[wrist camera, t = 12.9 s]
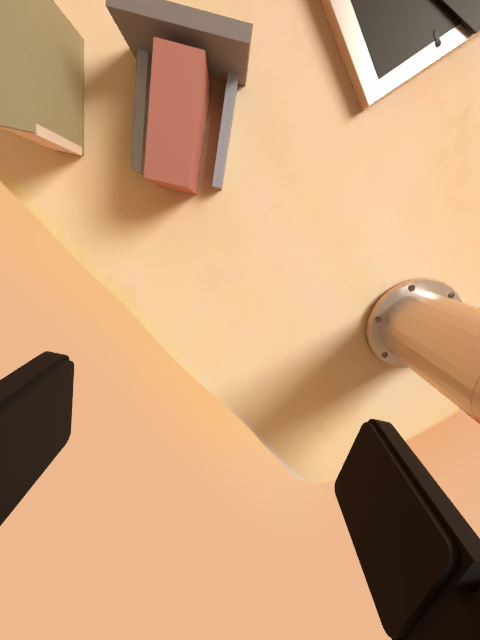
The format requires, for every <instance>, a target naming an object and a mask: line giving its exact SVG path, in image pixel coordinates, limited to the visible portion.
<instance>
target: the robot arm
mask: <svg viewBox="0 0 480 640" xmlns="http://www.w3.org/2000/svg"><path fill="white" fill-rule="evenodd" d="M367 339H368V343H369V345H370V347H371V349H372V351H373V352H374V353H375V354H376V355H377V356H378V357H379V358H380V359H381V360H382V361H384V362H386V363H387V364H390V365H392V366H395V367H402V368H411V369H412V370H413V371H414V372H416V373H417V374H418V375H419V376H421V377H422V378H423V379H424V380H426V381H427V382H428V383H429V384H430V385H432V386H433V387H434V388H435V389H437V390H438V391H439V392H440V393H442V394H443V395H444V396H445V397H447V398H448V399H449V400H450V401H452V402H453V403H454V404H455V405H457V406H458V407H459V408H460V409H462V410H463V411H464V412H466V413H467V414H468V415H469V416H471V417H472V418H473V419H474V420H475V421H477V422H478V423H479V424H480V308H477V307H474V306H471V305H468V304H465V303H462V301H461V299H460V297H459V295H458V294H457V292H456V291H455V290H454V289H453V288H452V287H451V286H449V285H447V284H445V283H443V282H440V281H437V280H433V279H428V278H417V279H412V280H408V281H405V282H403V283H400V284H398V285H397V286H395V287H393V288H391V289H390V290H389V291H388V292H386V293H385V294H384V295H383V296H382V297H381V298H380V299H379V300H378V302H377V303H376V304H375V306H374V308H373V309H372V311H371V314H370V316H369V318H368V323H367ZM73 378H74V363H73V362H72V361H70V360H69V357H68V356H67V355H63V354H58V353H53V352H47V351H46V352H44V353H42V354H40V355H39V356H37V357H36V358H34V359H32V360H31V361H29V362H28V363H26V364H25V365H23V366H21V367H20V368H18V369H17V370H15V371H14V372H12V373H11V374H9V375H8V376H6V377H4V378H3V379H1V380H0V526H1V524H2V523H3V522H4V521H5V519H6V518H7V517H8V516H9V514H10V513H11V512H12V511H13V509H14V508H15V507H16V506H17V504H18V503H19V502H20V501H21V499H22V498H23V497H24V496H25V494H26V493H27V492H28V490H29V489H30V488H31V487H32V486H33V484H34V483H35V482H36V481H37V479H38V478H39V477H40V476H41V474H42V473H43V472H44V471H45V469H46V468H47V467H48V466H49V464H50V463H51V462H52V461H53V459H54V458H55V457H56V456H57V454H58V453H59V452H60V451H61V449H62V448H63V447H64V446H65V444H66V443H67V441H68V439H69V436H70V433H71V418H72V398H73ZM335 494H336V497H337V500H338V502H339V505H340V508H341V511H342V514H343V516H344V519H345V522H346V525H347V528H348V531H349V533H350V536H351V539H352V542H353V544H354V547H355V550H356V553H357V556H358V558H359V561H360V564H361V567H362V570H363V572H364V575H365V578H366V581H367V583H368V587H369V589H370V592H371V595H372V598H373V601H374V603H375V606H376V609H377V611H378V614H379V617H380V620H381V623H382V625H383V628H384V630H385V632H386V633H387V635H388V636H389V637H391V638H392V640H480V539H479V537H478V536H477V535H476V533H475V532H474V531H473V529H472V528H471V527H470V526H469V524H468V523H467V522H466V520H465V519H464V518H463V516H462V515H461V514H460V513H459V511H458V510H457V509H456V507H455V506H454V505H453V503H452V502H451V501H450V499H449V498H448V497H447V496H446V494H445V493H444V492H443V490H442V489H441V488H440V486H439V485H438V484H437V482H436V481H435V480H434V479H433V477H432V476H431V475H430V473H429V472H428V471H427V470H426V468H425V467H424V466H423V464H422V463H421V462H420V460H419V459H418V458H417V456H416V455H415V454H414V453H413V451H412V450H411V449H410V448H409V446H408V445H407V443H406V442H405V441H404V440H403V438H402V437H401V436H400V434H399V433H398V432H397V430H396V429H395V428H394V427H393V425H392V424H391V423H389V422H385V421H380V420H375V419H370V420H369V421H368V422H365V423H363V425H362V426H361V429H360V431H359V433H358V435H357V437H356V439H355V441H354V443H353V446H352V448H351V450H350V452H349V454H348V456H347V458H346V460H345V462H344V465H343V467H342V469H341V471H340V473H339V475H338V477H337V479H336V482H335Z"/></svg>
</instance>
